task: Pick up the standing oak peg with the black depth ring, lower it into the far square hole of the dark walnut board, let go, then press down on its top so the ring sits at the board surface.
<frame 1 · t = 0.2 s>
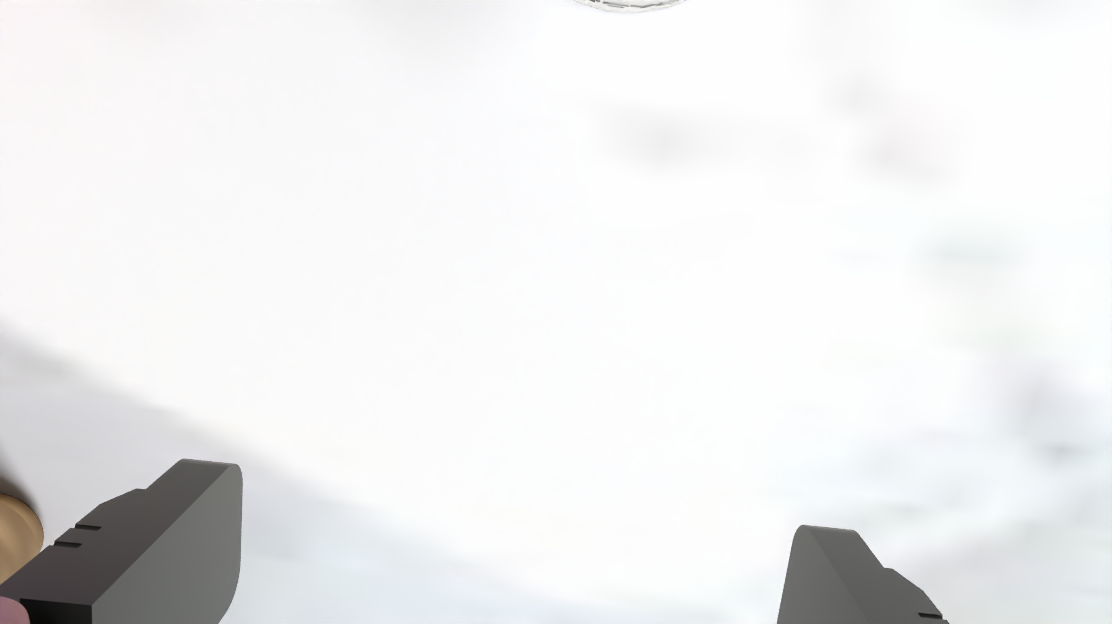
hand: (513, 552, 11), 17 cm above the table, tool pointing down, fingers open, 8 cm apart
oak peg: (2, 530, 31), on the table
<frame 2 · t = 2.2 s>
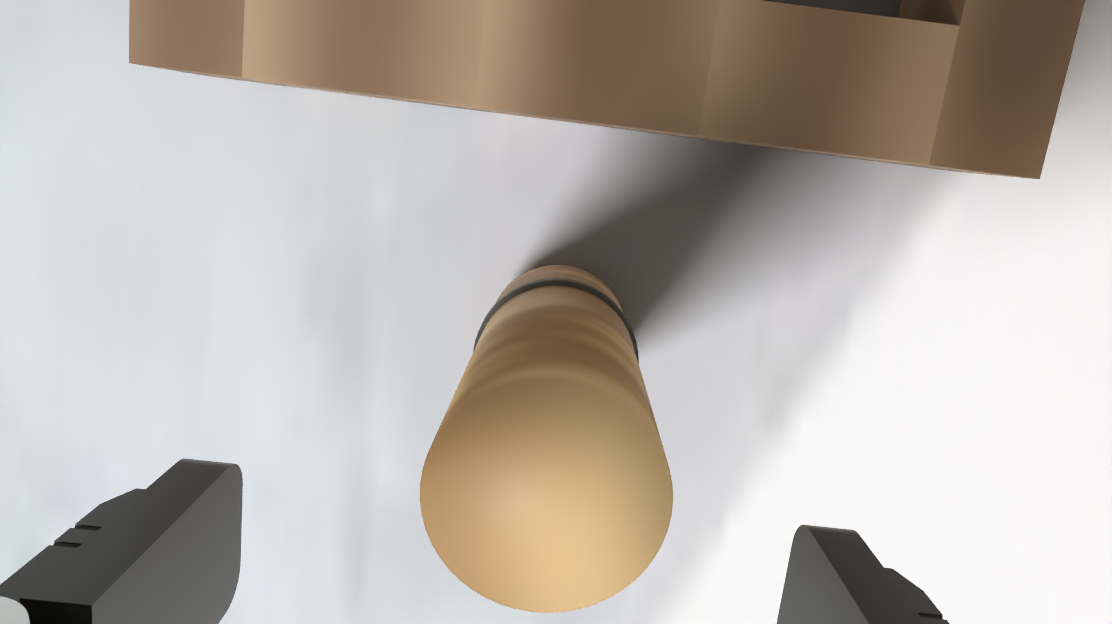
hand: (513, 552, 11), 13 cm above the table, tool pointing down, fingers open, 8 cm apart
oak peg: (558, 324, 24), on the table
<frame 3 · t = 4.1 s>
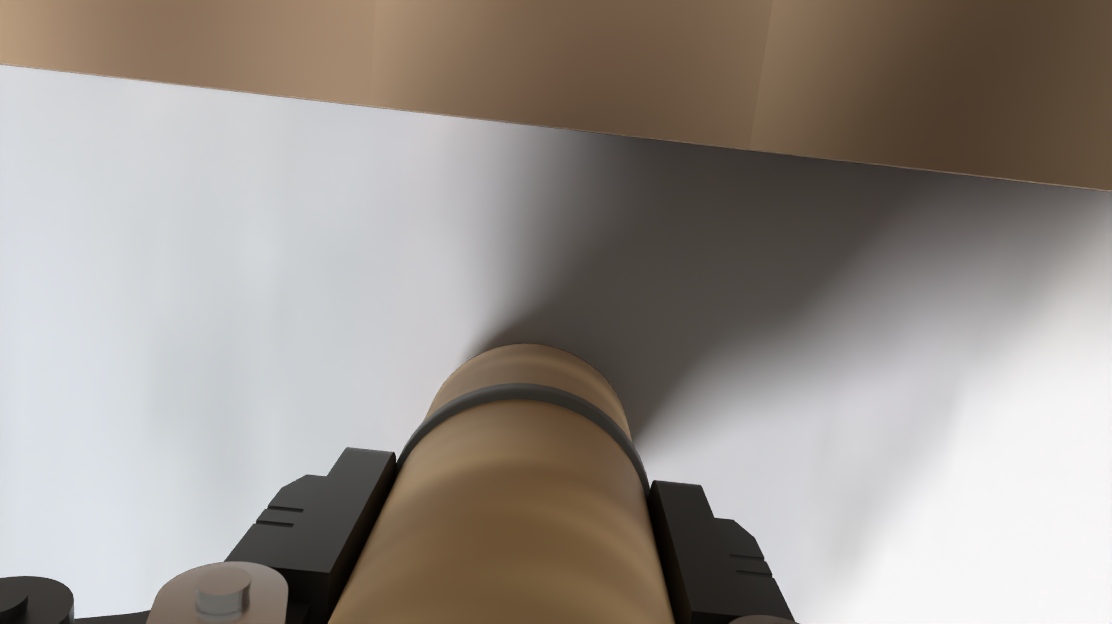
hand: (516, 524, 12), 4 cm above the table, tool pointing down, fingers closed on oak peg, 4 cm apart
oak peg: (528, 424, 17), on the table, touching gripper
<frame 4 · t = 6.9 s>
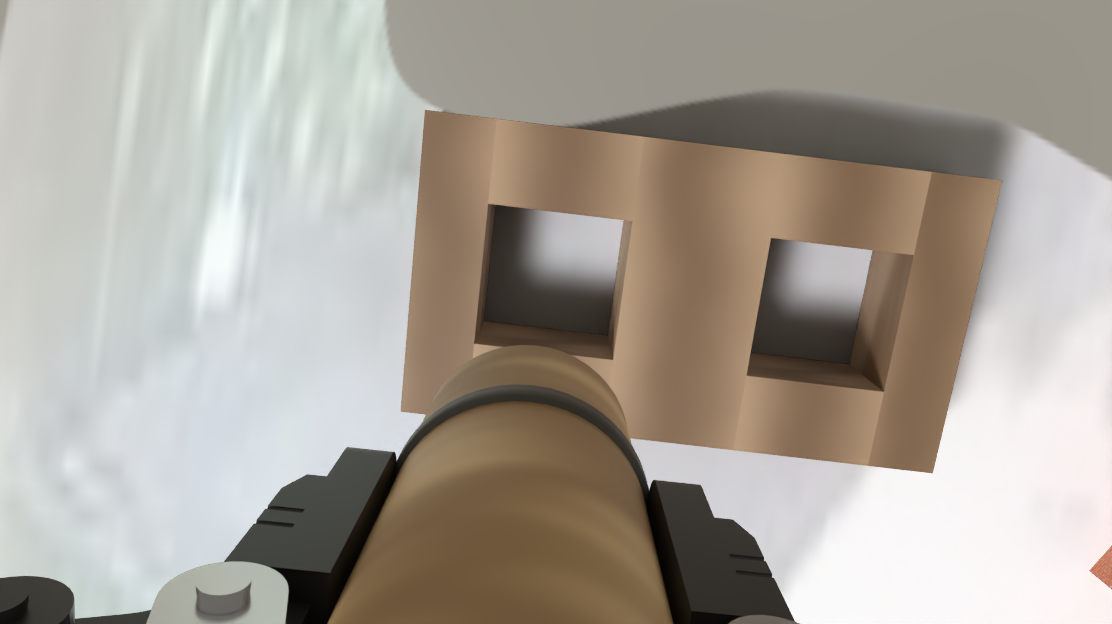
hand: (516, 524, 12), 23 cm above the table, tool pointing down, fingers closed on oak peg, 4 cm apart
walnut board: (676, 281, 35), on the table
oak peg: (527, 425, 16), point 19 cm above the table, touching gripper
when the fingers open (6 cm above the table, at t = 9.6 s): oak peg drops 2 cm, resting in walnut board.
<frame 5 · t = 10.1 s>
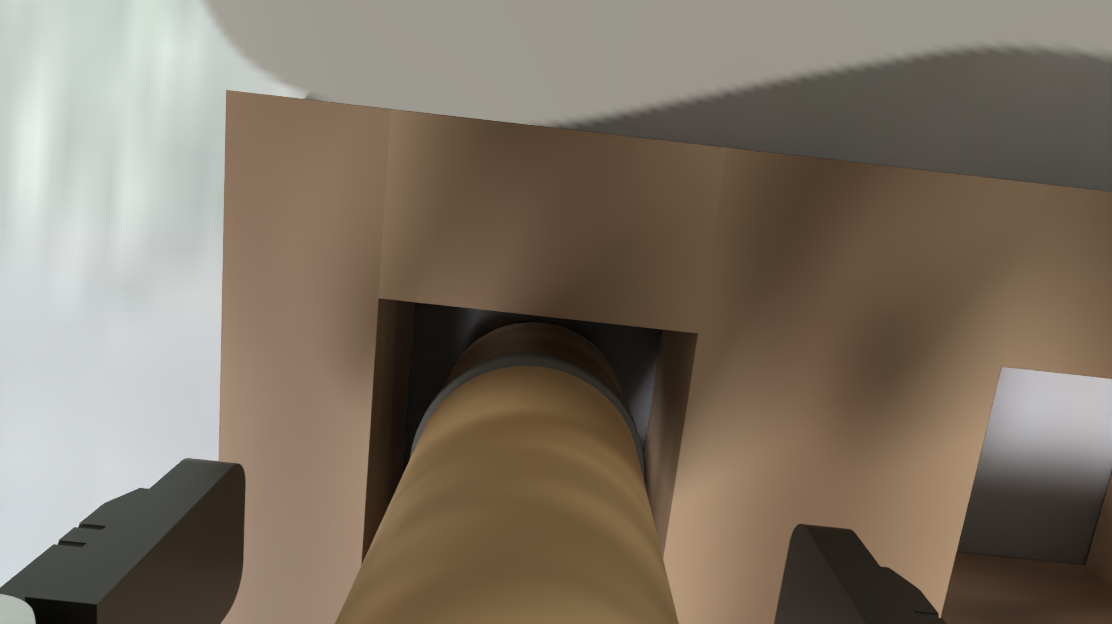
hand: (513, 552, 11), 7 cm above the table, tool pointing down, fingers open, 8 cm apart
walnut board: (765, 420, 18), on the table
oak peg: (534, 396, 18), resting in walnut board
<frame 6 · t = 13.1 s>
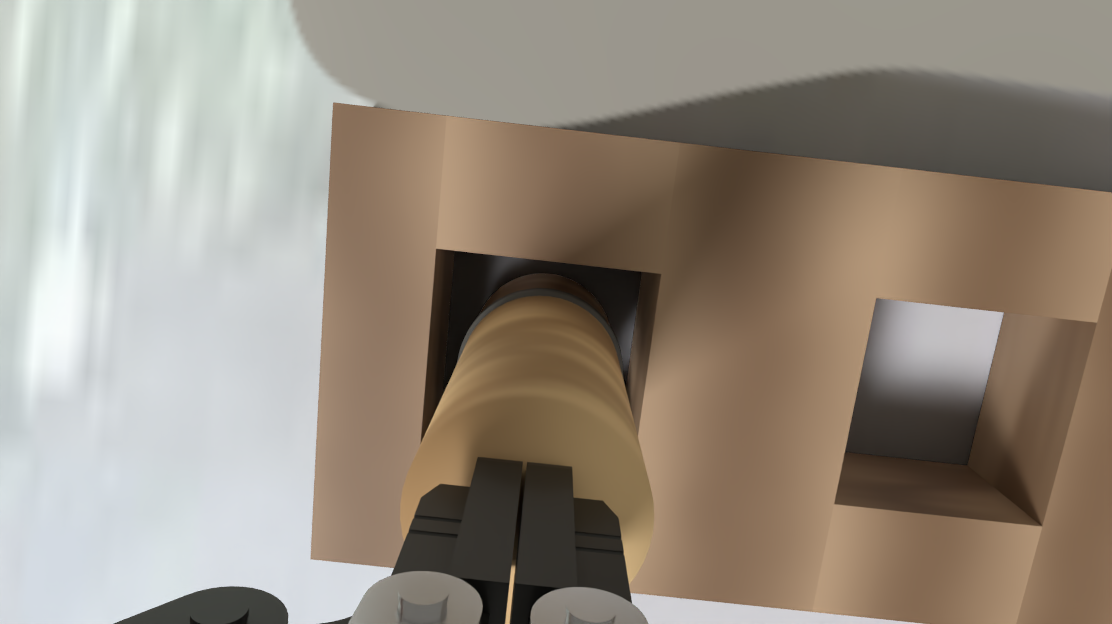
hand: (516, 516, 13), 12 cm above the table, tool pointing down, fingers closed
walnut board: (720, 351, 24), on the table
oak peg: (543, 332, 24), resting in walnut board, touching gripper
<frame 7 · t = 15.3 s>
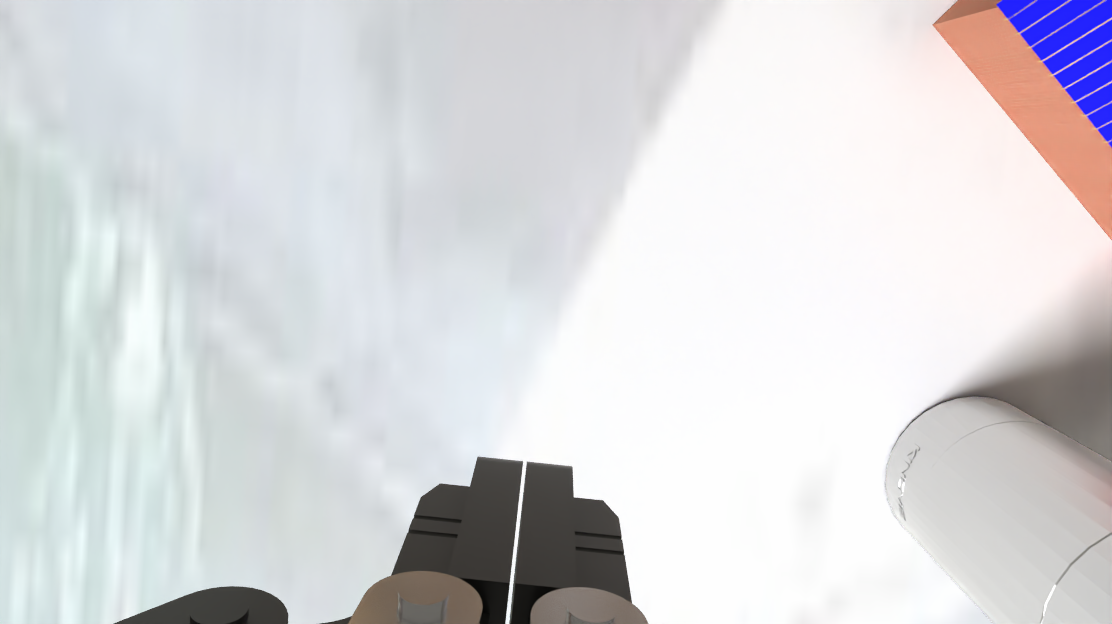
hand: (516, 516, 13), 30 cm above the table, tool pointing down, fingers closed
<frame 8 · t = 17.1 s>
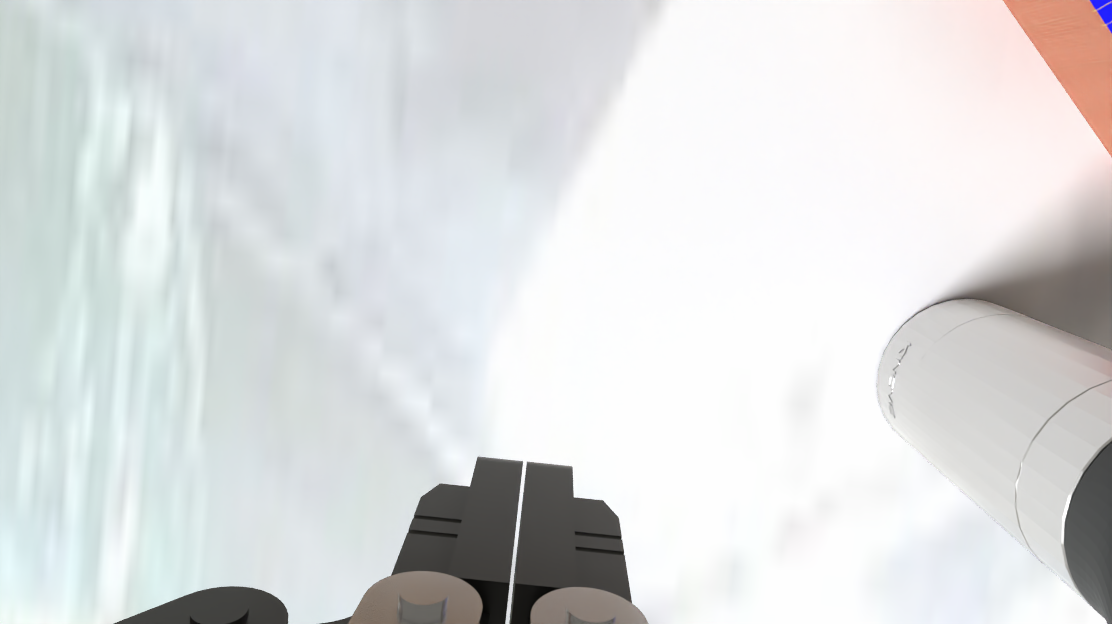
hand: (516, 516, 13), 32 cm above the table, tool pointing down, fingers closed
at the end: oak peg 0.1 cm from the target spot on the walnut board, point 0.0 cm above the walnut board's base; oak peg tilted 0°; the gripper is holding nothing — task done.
